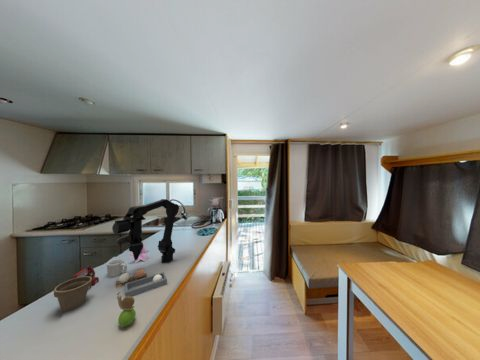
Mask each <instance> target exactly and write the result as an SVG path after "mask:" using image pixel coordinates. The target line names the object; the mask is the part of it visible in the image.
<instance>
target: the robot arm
mask: <svg viewBox="0 0 480 360" xmlns="http://www.w3.org/2000/svg"><path fill="white" fill-rule="evenodd" d="M159 208H163V209H165V213H166V220H165V226H164V232H163V235H162V238H161V240H159V241H158V245H157V249H158V251H159V252H160V254H161V256H160V257H161V258H160V262H161V264H165V263H166V264H168V263H171V262H172V261H173V262H174V254H175V253H176V248H174V247H173V241H172V235H173V229H174V223H175V218H176V216H177V215H178V213H179V210H180V205H179V204H177V203H175V202H172V201H170V200H168V199H167V198H165V199H164V198H162V199H159V200H157V201H153V202H150V203H147V204H143V205H134V206H131V207H129V209H128V210H127V213H126V214H125V215H124V217H123V218H122V219H117V220H114V223H113V225H112V227H111V229H112V232H113V234H114V235H118V234H123V233H127V232H128V234H124V235H122V236H120V237H118V238H117V239H116V243H117V245H118V246H119V247H120V246H123V245H124V244H126V243H128V245H129V246H128V251H129V252H131V253H133V255H134V258H133V259H134V261H135V260H137V259H138V257H139V255H140V253H141V250H142V249H143V245H144V242H143V238H142V237H143V236H142V235H143V221H144V220H146V217H144V215H146V214H147V213H149V212H151V211H154V210H156V209H159Z"/></svg>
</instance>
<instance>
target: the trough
mask: <svg viewBox="0 0 480 360" xmlns="http://www.w3.org/2000/svg"><path fill="white" fill-rule="evenodd" d="M158 274H159V275H161V276H162V280H160V281H157V282H154V283H153V278H154V276H156V275H158ZM145 284H146V285H145ZM166 285H168V279H167V276H166V275H165V272H160V273H157V274H153V275H149V276H147V277H146V278H143V279H139V280H136V281H133V282H129V283H126V284H125V286H124V293H125V294H124V296H125V297H127V296H132V297H134V296H138V295H141V294H143V293H145V292H149V291H151V290H155V289H157V288H160V287H162V286H166ZM132 288H133V289H132ZM125 297H124V298H125Z"/></svg>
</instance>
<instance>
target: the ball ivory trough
mask: <svg viewBox="0 0 480 360" xmlns="http://www.w3.org/2000/svg"><path fill="white" fill-rule="evenodd" d="M157 274H158V275H156V274H155V275H156V276H154V278H153V281H152V283H154V282H157V281H160V280H163V279H162V276H161V275H159V273H157Z"/></svg>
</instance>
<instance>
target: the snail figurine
mask: <svg viewBox="0 0 480 360" xmlns="http://www.w3.org/2000/svg"><path fill="white" fill-rule="evenodd" d="M120 293H121V292H120V291H118V292H117V293H116V295H117V297H116V299H117V304H118V307H119V308H120V310H122V311H121V312H120V314H119V316H118V319H117V321H118V325H119V326H120V327H124V328H125V327H127V326H130V325H131V324H132V323H133V321H134V320H135V319H136V316H137V313H136V310H135V309H134V308H135V306H134V305H135V298H134V296H127V297H123V299H122V294H121V295H120Z"/></svg>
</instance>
